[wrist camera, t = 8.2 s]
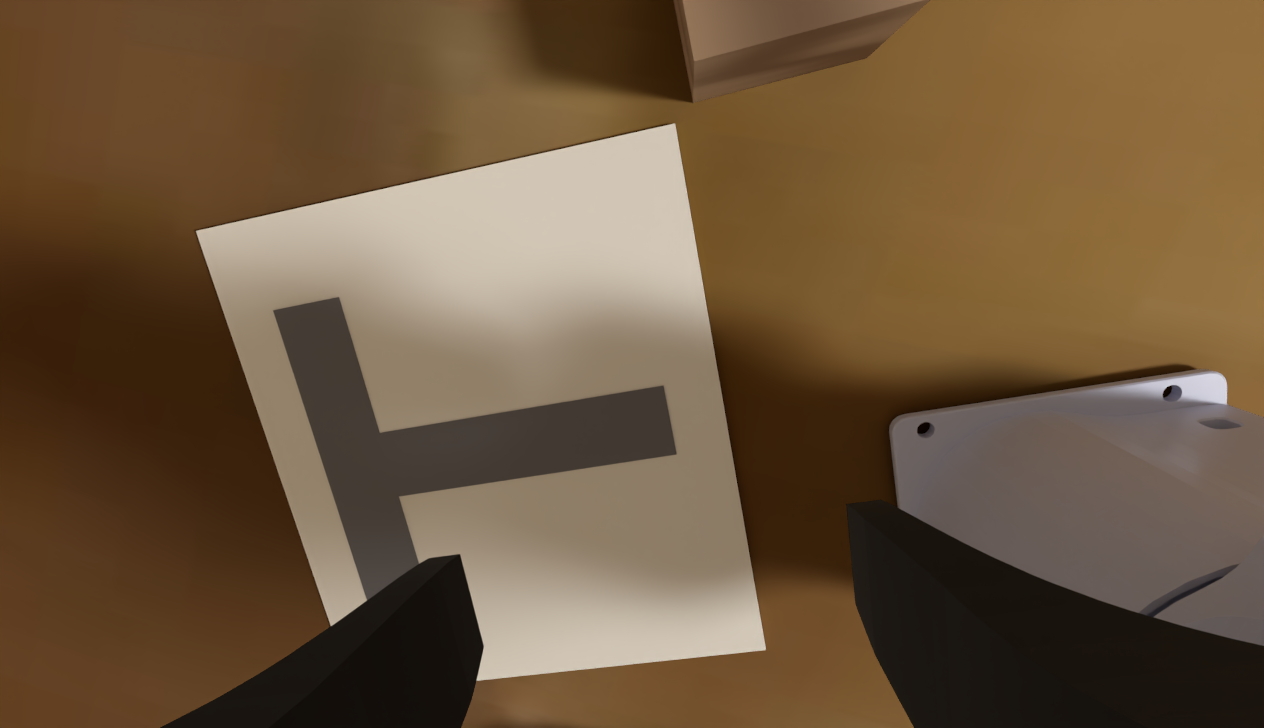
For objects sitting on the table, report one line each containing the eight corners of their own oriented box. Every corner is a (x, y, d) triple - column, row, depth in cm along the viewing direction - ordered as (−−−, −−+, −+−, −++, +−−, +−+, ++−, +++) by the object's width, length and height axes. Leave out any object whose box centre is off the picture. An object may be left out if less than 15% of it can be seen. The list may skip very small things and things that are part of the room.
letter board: (675, 124, 18) (674, 123, 18) (765, 646, 22) (766, 650, 22) (200, 230, 20) (195, 231, 20) (356, 690, 24) (353, 694, 24)
